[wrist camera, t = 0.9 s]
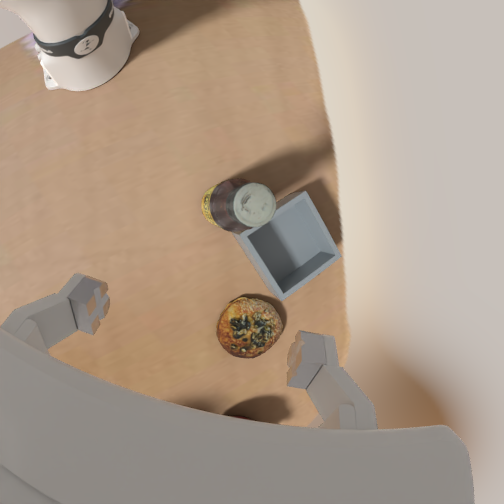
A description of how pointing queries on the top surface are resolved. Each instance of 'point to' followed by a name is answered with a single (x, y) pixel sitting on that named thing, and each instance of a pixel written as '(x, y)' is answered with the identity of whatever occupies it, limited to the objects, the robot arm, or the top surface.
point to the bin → (289, 245)
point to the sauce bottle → (238, 205)
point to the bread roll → (248, 327)
